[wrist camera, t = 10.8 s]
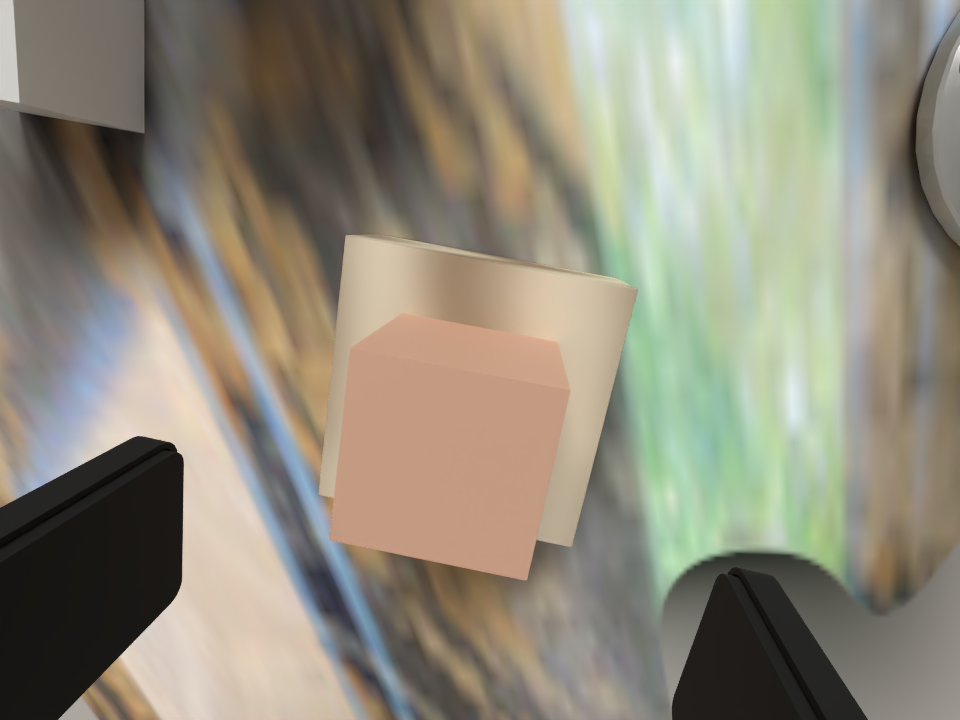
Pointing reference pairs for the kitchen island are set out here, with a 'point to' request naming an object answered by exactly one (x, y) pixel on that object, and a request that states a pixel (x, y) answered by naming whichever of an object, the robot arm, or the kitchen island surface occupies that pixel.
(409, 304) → the maple base block
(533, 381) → the terracotta cube
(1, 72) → the pale grey cube
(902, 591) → the kitchen island surface
